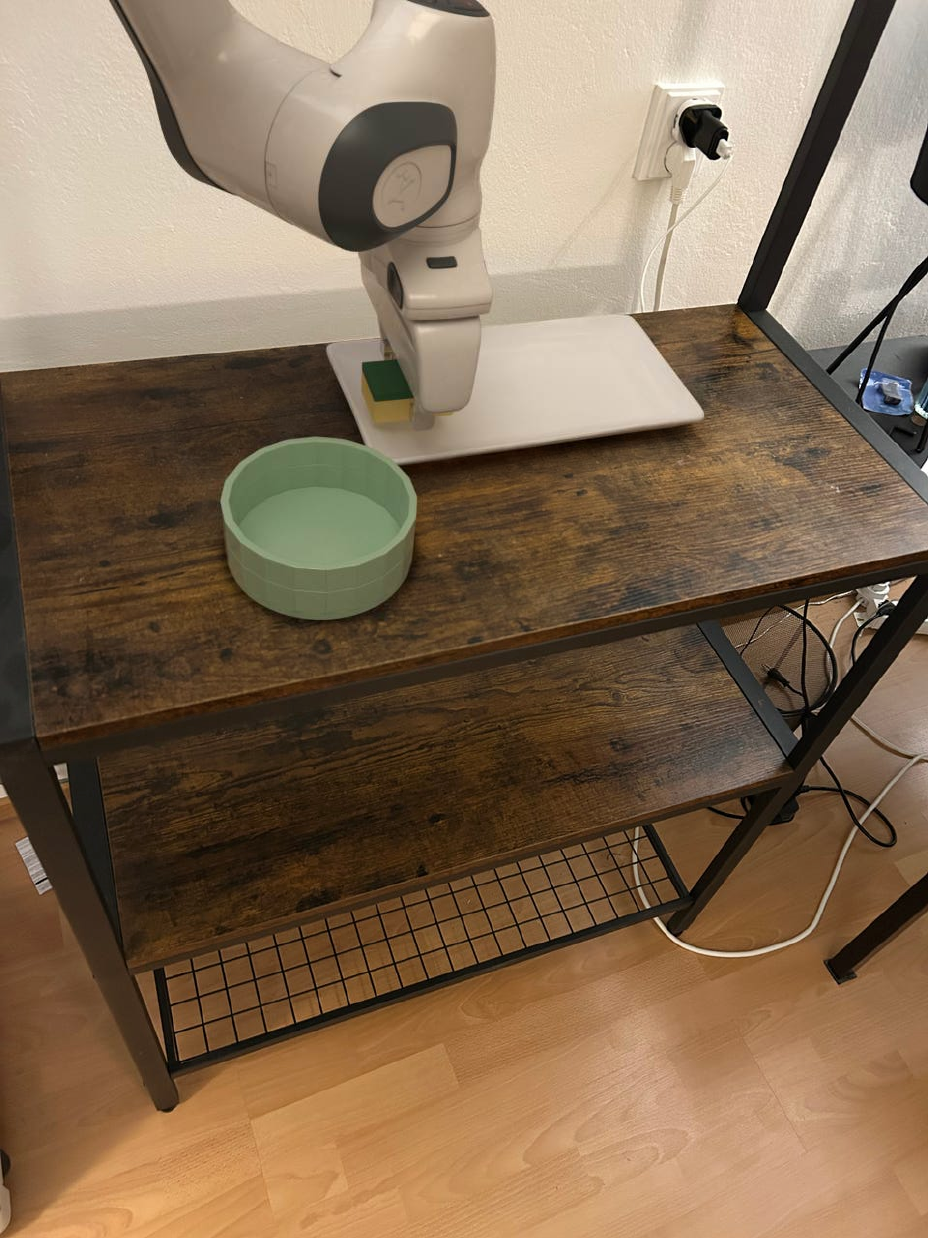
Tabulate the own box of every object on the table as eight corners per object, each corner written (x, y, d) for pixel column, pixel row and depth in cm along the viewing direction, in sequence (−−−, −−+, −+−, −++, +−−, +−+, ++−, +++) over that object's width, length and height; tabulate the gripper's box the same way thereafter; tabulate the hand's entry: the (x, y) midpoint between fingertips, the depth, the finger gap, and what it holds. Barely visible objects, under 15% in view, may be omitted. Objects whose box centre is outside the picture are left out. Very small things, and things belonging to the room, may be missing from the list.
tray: (700, 444, 90) (712, 414, 87) (372, 494, 80) (374, 461, 78) (623, 340, 99) (631, 310, 97) (322, 373, 90) (322, 341, 88)
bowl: (243, 634, 69) (238, 582, 65) (214, 501, 78) (208, 447, 74) (433, 603, 73) (440, 552, 69) (385, 480, 82) (389, 427, 78)
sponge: (373, 423, 81) (374, 394, 79) (360, 391, 83) (361, 361, 81) (453, 415, 83) (456, 386, 80) (438, 383, 85) (441, 354, 83)
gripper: (344, 170, 77) (341, 323, 87) (413, 313, 65) (400, 472, 75) (420, 168, 79) (408, 318, 89) (501, 307, 66) (477, 462, 77)
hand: (405, 390), depth 82 cm, fingers open, 8 cm apart
